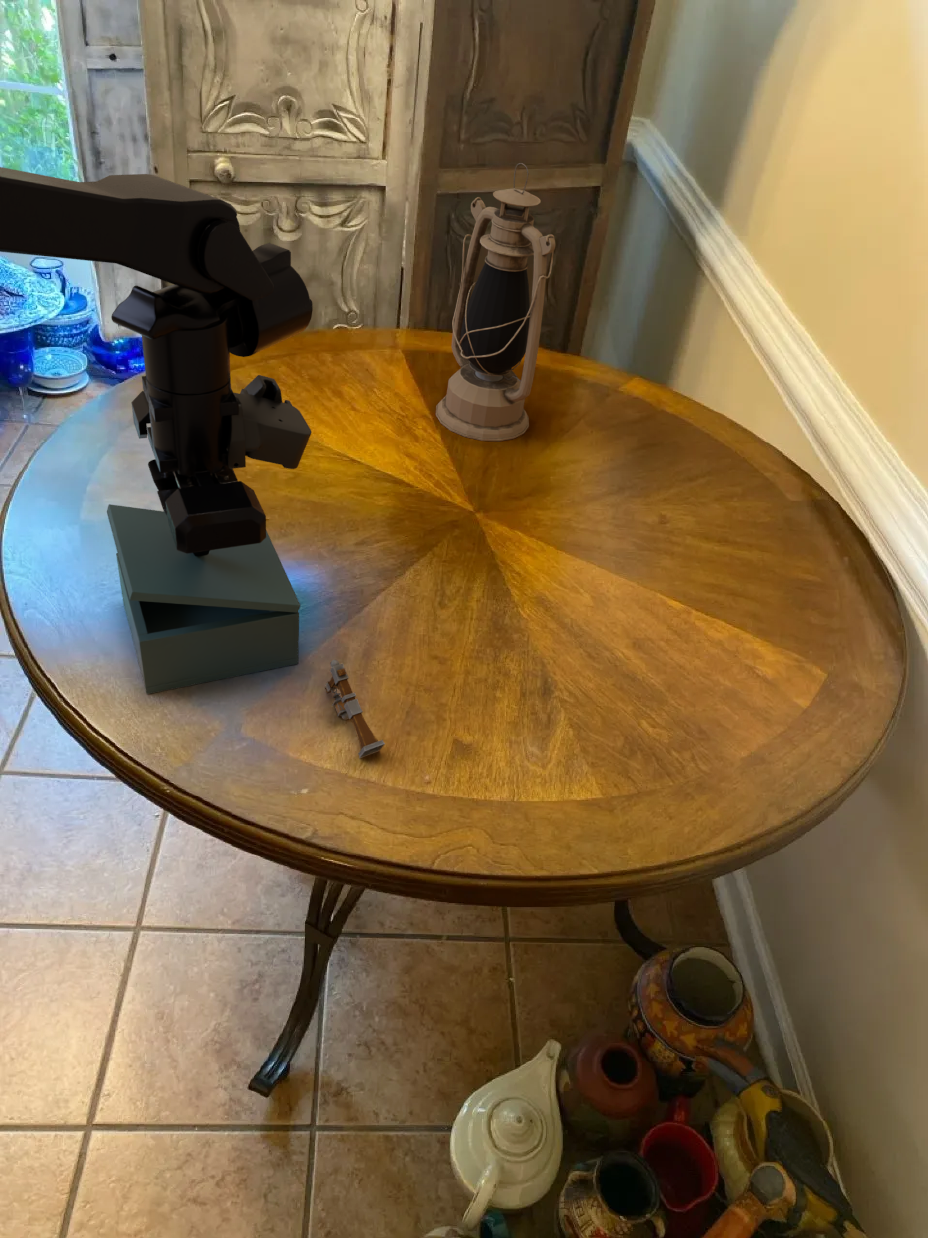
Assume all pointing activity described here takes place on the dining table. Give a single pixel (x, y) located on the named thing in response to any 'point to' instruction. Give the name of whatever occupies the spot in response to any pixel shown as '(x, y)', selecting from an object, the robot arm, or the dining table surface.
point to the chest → (206, 641)
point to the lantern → (497, 321)
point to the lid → (196, 567)
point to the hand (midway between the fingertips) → (200, 553)
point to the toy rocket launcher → (351, 709)
